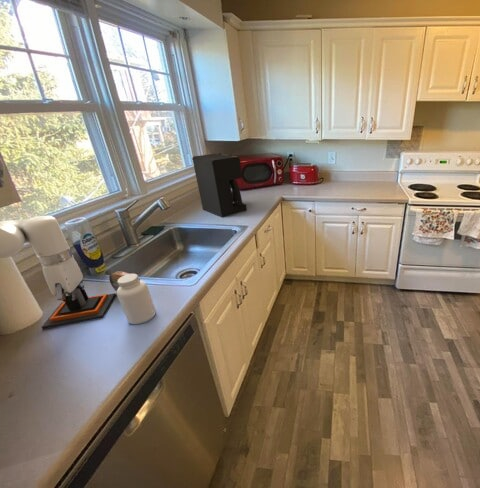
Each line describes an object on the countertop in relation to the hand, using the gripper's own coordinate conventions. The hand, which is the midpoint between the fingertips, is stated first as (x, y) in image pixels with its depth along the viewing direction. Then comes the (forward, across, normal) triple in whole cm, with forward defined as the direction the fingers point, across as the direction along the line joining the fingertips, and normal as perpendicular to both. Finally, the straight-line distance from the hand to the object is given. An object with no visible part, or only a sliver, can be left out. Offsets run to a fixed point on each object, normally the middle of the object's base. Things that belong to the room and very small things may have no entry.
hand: (79, 304), depth 93 cm
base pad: (+3, 0, 0) cm, 3 cm away
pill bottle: (+3, +10, +20) cm, 23 cm away
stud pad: (+2, 0, 0) cm, 2 cm away
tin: (+3, -6, +13) cm, 14 cm away
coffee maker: (+3, -93, +48) cm, 105 cm away
